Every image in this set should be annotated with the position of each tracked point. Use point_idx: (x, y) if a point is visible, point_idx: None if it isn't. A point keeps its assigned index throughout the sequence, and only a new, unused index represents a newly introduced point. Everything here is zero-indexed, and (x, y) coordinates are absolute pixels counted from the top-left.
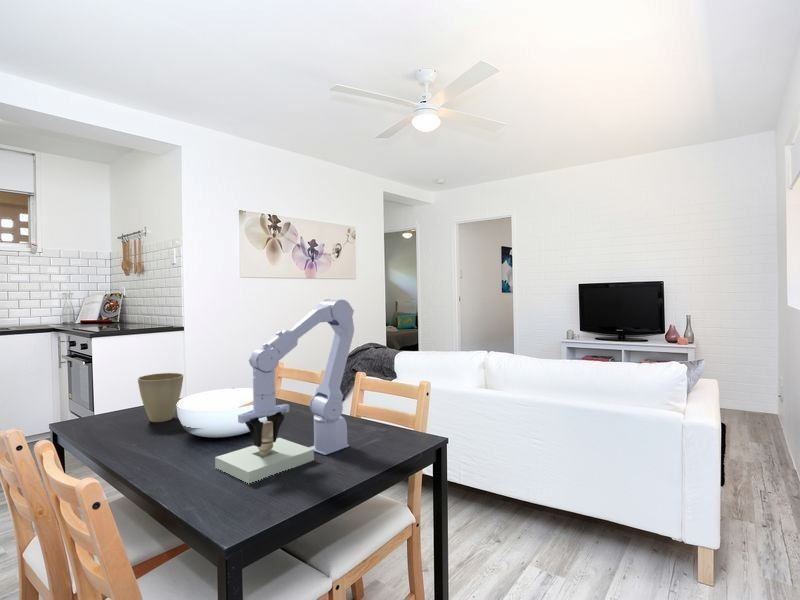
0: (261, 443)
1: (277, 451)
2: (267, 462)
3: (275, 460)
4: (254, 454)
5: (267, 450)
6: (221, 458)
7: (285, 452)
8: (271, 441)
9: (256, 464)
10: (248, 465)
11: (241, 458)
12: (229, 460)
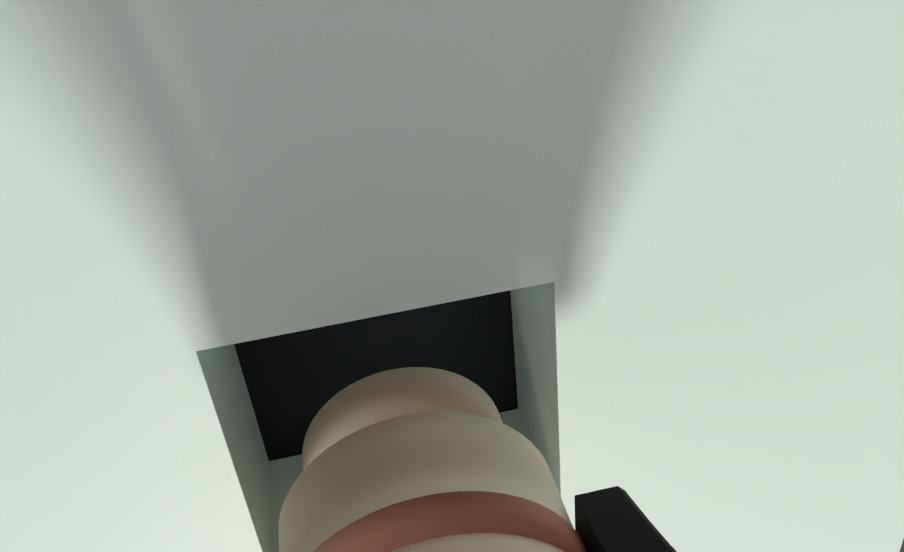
0: (577, 541)
1: (204, 412)
2: (620, 24)
3: (453, 14)
4: None
5: (432, 413)
6: (879, 546)
7: (89, 289)
8: (379, 534)
9: (794, 75)
10: (891, 124)
11: (754, 434)
12: (881, 450)
